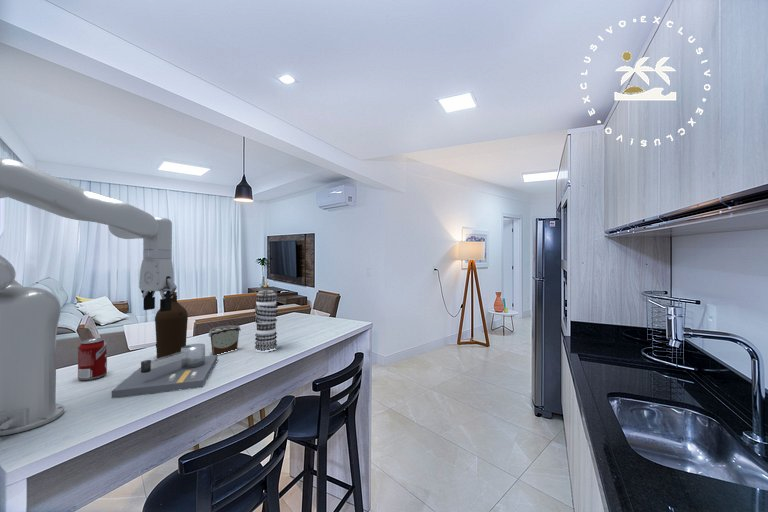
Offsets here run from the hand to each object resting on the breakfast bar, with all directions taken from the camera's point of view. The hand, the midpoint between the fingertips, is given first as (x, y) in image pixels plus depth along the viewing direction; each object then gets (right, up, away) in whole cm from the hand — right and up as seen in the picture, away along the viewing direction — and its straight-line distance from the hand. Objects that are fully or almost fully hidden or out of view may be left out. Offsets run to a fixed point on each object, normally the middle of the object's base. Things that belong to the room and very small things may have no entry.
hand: (157, 309), depth 99 cm
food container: (+7, -22, +26) cm, 35 cm away
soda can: (-20, -22, -1) cm, 30 cm away
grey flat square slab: (+5, -22, 0) cm, 22 cm away
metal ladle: (+6, -20, -1) cm, 20 cm away
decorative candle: (+24, -22, +29) cm, 44 cm away
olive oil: (-10, -22, +21) cm, 32 cm away
